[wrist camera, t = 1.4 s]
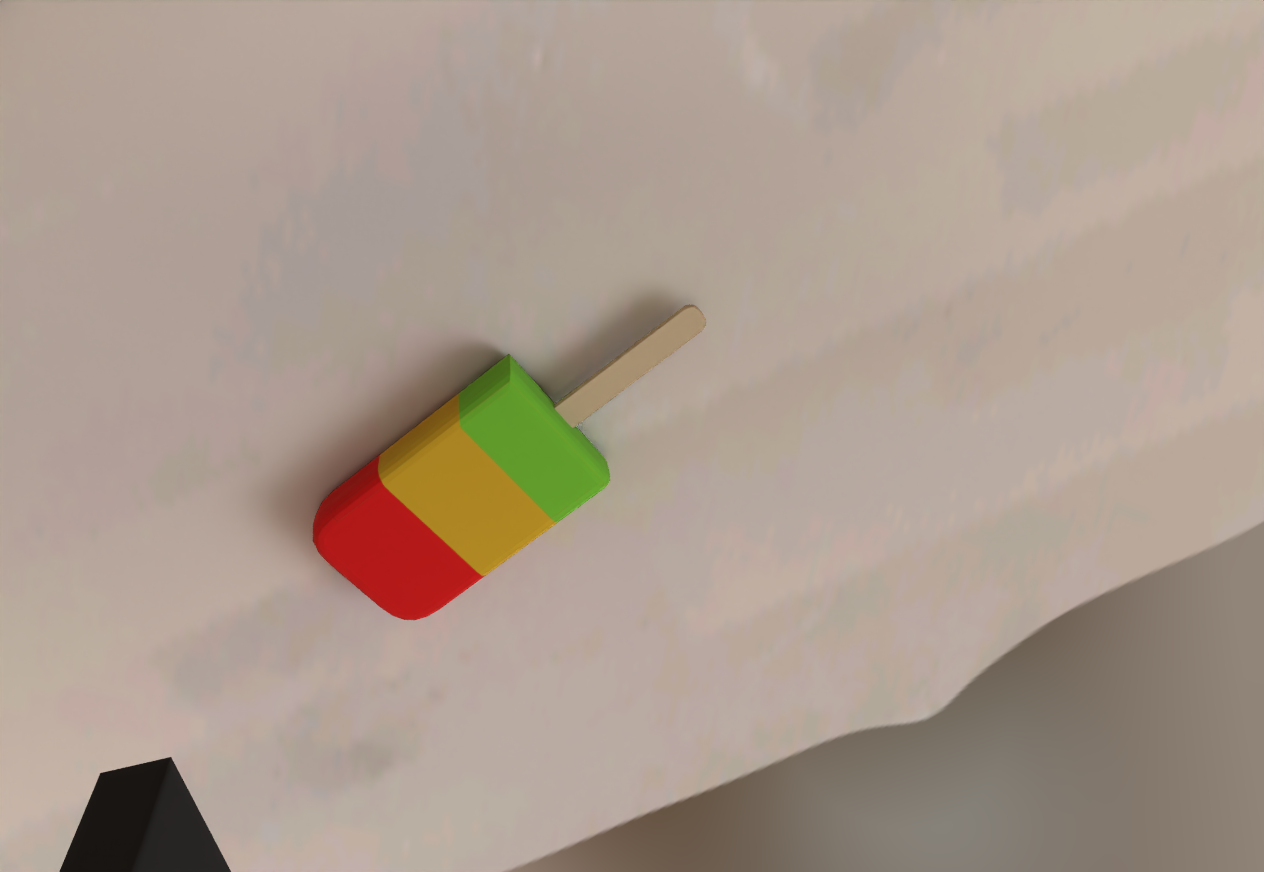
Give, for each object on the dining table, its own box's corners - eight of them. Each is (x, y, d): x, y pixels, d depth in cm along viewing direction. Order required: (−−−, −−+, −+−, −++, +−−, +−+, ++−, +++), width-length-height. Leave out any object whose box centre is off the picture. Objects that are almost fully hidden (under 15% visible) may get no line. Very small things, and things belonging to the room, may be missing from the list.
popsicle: (300, 510, 35) (292, 541, 34) (646, 239, 33) (656, 257, 31) (411, 605, 38) (409, 638, 36) (741, 360, 35) (755, 383, 34)
